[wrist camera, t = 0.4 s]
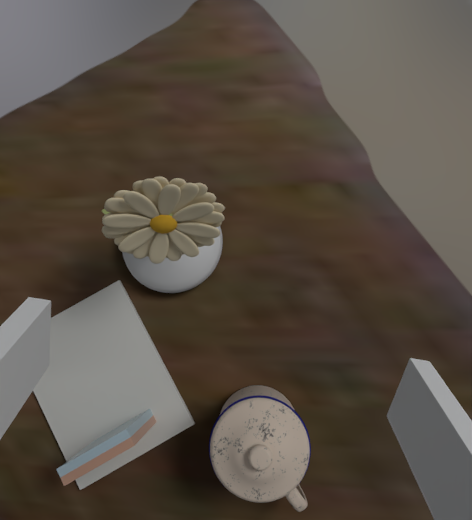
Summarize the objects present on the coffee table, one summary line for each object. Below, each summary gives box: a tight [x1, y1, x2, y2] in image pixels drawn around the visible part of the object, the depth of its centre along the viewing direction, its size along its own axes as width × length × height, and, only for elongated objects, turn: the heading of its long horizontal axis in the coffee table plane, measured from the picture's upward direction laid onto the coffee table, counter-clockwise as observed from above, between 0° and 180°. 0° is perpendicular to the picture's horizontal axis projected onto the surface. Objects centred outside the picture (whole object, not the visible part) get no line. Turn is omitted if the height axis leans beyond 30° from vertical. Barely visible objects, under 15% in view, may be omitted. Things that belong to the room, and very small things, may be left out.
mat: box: [33, 280, 195, 490], centre depth 48 cm, size 18×14×1 cm
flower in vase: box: [102, 177, 225, 293], centre depth 38 cm, size 13×11×25 cm
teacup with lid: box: [209, 385, 311, 512], centre depth 41 cm, size 12×9×12 cm
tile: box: [56, 409, 157, 486], centre depth 42 cm, size 2×7×9 cm, turn 119°
